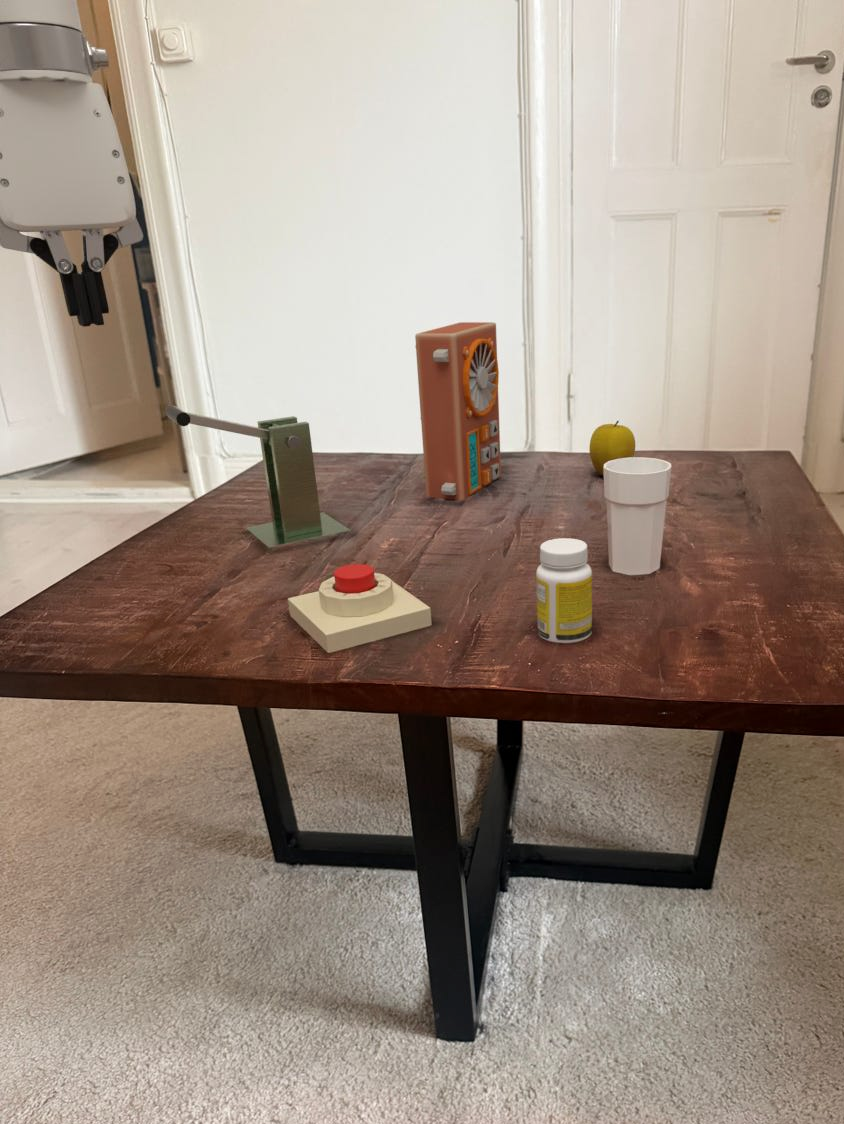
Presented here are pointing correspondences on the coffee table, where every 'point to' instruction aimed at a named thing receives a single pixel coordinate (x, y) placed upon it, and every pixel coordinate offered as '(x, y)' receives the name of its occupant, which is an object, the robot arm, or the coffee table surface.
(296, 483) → the bracket
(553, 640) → the supplement bottle
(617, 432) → the apple
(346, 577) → the button
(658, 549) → the cup
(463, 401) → the control panel
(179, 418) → the lever
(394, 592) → the button block
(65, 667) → the coffee table surface
